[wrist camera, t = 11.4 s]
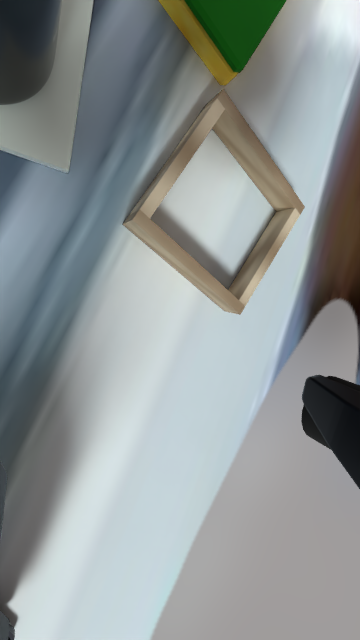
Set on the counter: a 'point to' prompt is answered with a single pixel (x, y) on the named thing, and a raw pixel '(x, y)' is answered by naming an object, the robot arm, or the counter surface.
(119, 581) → the counter surface
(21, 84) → the supplement bottle
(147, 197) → the frame
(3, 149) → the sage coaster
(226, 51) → the dish sponge
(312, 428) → the wine bottle
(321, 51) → the counter surface
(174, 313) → the counter surface
